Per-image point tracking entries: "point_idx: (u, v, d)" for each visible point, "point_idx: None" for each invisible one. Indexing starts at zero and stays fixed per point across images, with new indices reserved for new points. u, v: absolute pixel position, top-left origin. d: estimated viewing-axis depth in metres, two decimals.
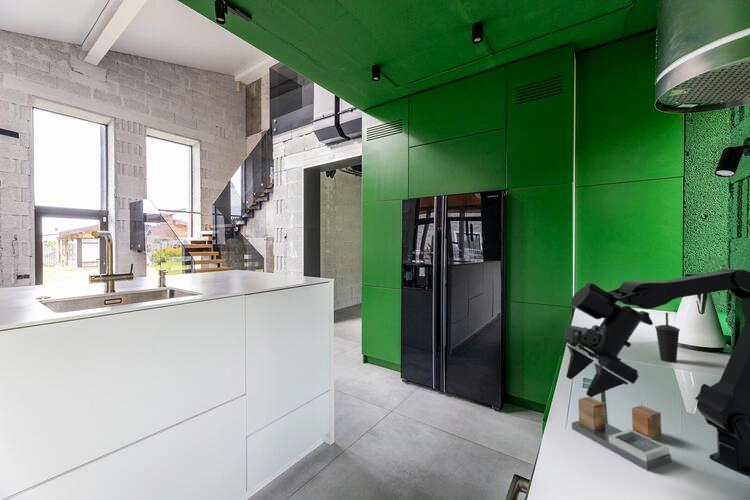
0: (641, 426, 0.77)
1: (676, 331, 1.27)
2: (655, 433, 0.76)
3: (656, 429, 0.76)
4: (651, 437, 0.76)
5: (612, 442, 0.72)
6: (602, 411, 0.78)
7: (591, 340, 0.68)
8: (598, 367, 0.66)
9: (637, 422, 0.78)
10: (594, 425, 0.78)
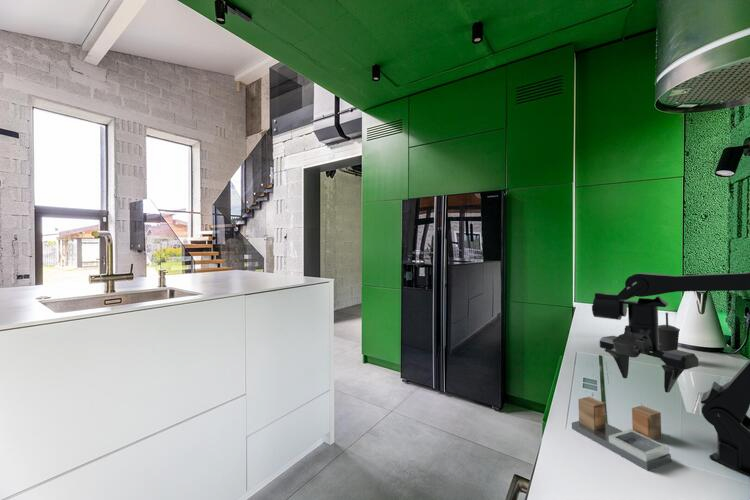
0: (641, 426, 0.77)
1: (676, 331, 1.27)
2: (655, 433, 0.76)
3: (656, 429, 0.76)
4: (651, 437, 0.76)
5: (612, 442, 0.72)
6: (602, 411, 0.78)
7: (649, 348, 0.73)
8: (669, 368, 0.71)
9: (637, 422, 0.78)
10: (594, 425, 0.78)
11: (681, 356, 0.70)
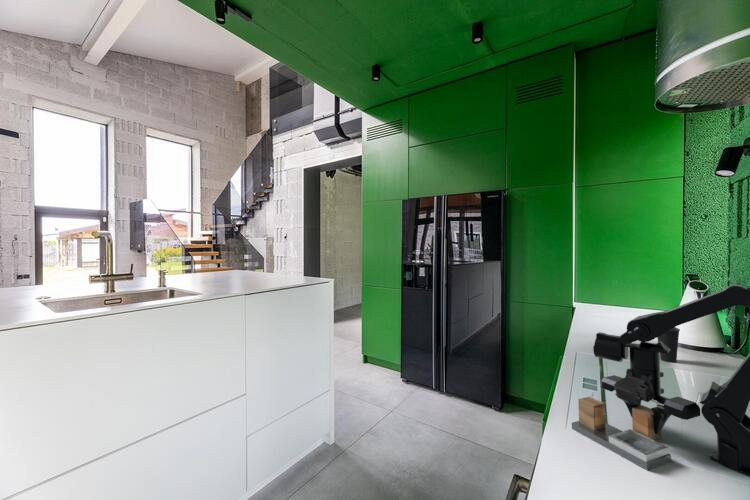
0: (641, 426, 0.77)
1: (676, 331, 1.27)
2: None
3: None
4: (651, 437, 0.76)
5: (612, 442, 0.72)
6: (602, 411, 0.78)
7: (650, 396, 0.73)
8: (658, 412, 0.74)
9: (637, 422, 0.78)
10: (594, 425, 0.78)
11: (683, 406, 0.70)
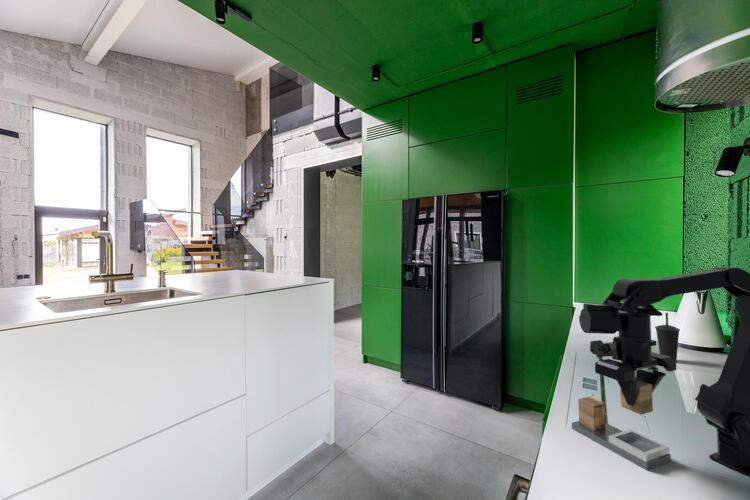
0: None
1: (676, 331, 1.27)
2: None
3: None
4: (622, 404, 0.72)
5: (612, 442, 0.72)
6: (602, 411, 0.78)
7: (597, 350, 0.75)
8: None
9: None
10: (594, 425, 0.78)
11: (598, 361, 0.70)
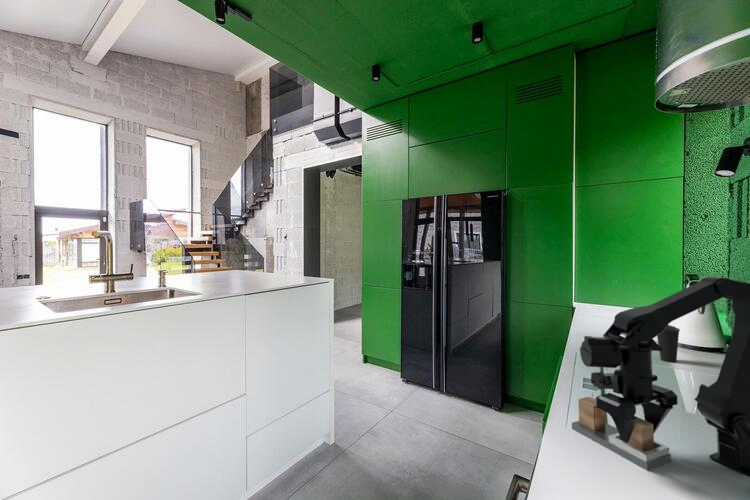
0: None
1: (676, 331, 1.27)
2: (630, 443, 0.70)
3: (632, 440, 0.70)
4: None
5: (612, 442, 0.72)
6: (602, 411, 0.78)
7: (598, 383, 0.74)
8: None
9: None
10: (594, 425, 0.78)
11: (599, 395, 0.70)
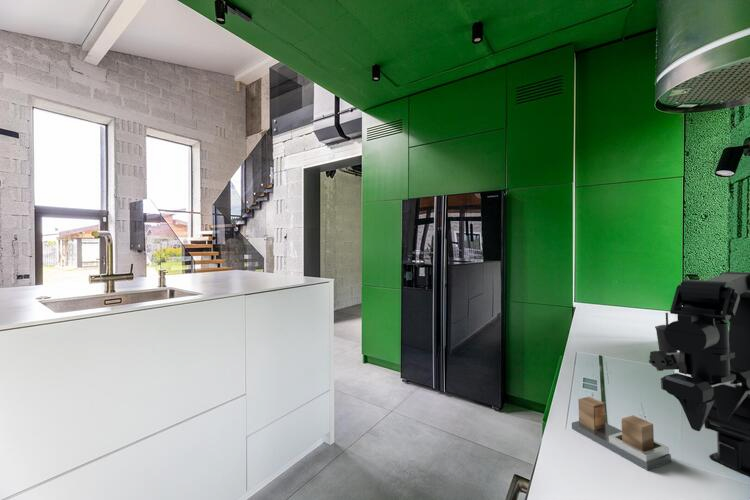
0: None
1: None
2: (630, 443, 0.70)
3: (632, 440, 0.70)
4: None
5: (612, 442, 0.72)
6: (602, 411, 0.78)
7: (660, 363, 0.64)
8: None
9: None
10: (594, 425, 0.78)
11: (666, 376, 0.60)
